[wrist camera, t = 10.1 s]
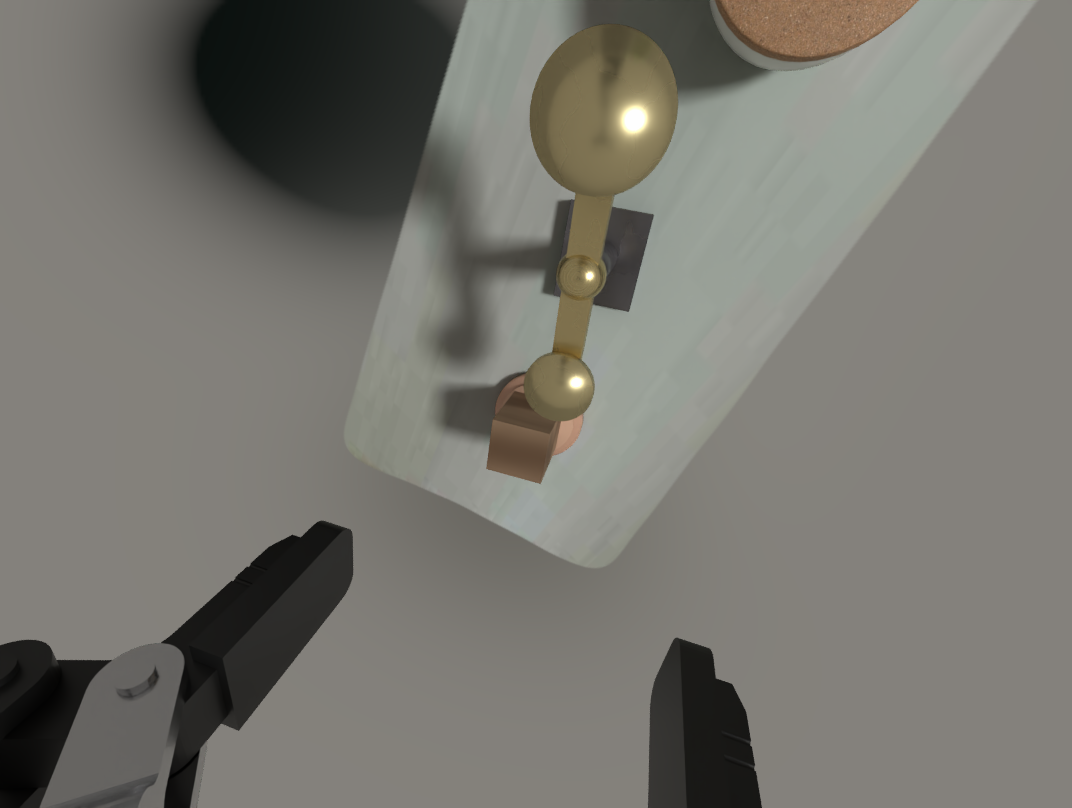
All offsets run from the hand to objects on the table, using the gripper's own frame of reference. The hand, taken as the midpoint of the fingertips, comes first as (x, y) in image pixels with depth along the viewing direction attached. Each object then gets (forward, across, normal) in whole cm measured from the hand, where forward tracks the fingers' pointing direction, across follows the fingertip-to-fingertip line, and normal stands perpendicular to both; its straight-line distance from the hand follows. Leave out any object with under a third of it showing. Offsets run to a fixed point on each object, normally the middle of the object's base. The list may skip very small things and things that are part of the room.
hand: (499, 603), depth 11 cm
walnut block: (+28, +4, +10) cm, 30 cm away
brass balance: (+30, +2, -4) cm, 30 cm away
